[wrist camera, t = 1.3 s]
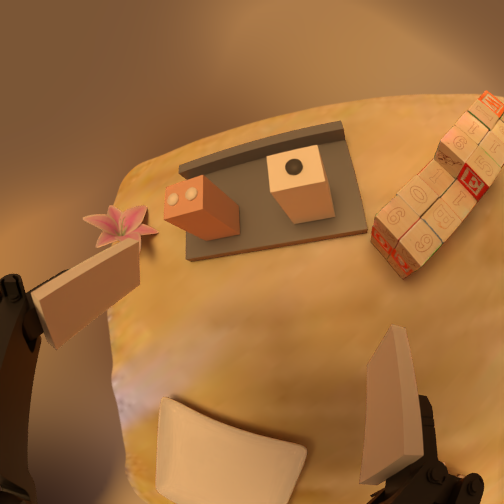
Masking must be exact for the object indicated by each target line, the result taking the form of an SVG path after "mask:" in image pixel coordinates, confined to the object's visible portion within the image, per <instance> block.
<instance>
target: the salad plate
mask: <svg viewBox="0 0 504 504" xmlns="http://www.w3.org/2000/svg"><path fill="white" fill-rule="evenodd" d="M306 456H307V449H306V447H305V446H303V445H301V444H297V443H292V442H288V441H283V440H279V439H275V438H270V437H266V436H262V435H258V434H255V433H251V432H248V431H245V430H242V429H238V428H236V427H233V426H230V425H227V424H225V423H222V422H219V421H217V420H214V419H212V418H210V417H208V416H205V415H203V414H201V413H199V412H197V411H195V410H193V409H191V408H189V407H187V406H185V405H183V404H182V403H180V402H178V401H175V400H173V399H171V398H168V397H163V398H162V399H161V403H160V411H159V422H158V439H157V463H156V490H157V491H158V493H160V494H161V495H163V496H164V497H166V498H167V499H169V500H171V501H173V502H175V503H176V504H287V503H288V501H289V499H290V496H291V494H292V492H293V489H294V487H295V485H296V482H297V480H298V478H299V475H300V473H301V470H302V468H303V466H304V463H305V460H306Z"/></svg>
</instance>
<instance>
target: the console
mask: <svg viewBox="0 0 504 504" xmlns="http://www.w3.org/2000/svg"><path fill="white" fill-rule="evenodd" d="M313 145H317V146H318V149H319V152H320V155H321V159H322V162H323V165H324V169H325V172H326V176H327V179H328V183H329V186H330V191H331V196H332V202H333V207H334V213H335V217H332V218H326V219H321V220H315V221H309V222H304V223H298V224H293V222H292V221H291V219H290V218H289V217H288V215H287V214H286V213H285V211H284V210H283V209H282V207H281V206H280V205H279V203H278V202H277V201H276V199H275V198H274V197H273V195H272V194H271V193H270V185H269V175H268V166H267V157H266V156H270V155H274V154H278V153H282V152H287V151H291V150H295V149H300V148H304V147H309V146H313ZM179 174H180V175H181V176H183V177H184V178H185V179H187V180H188V179H191V178H194V177H198V176H201V175H204V176H205V177H207V178H208V179H209V180H210V181H211V182H212V183H213V184H215V185H216V186H217V187H218V188H219V189H220V190H221V191H223V192H224V193H225V194H226V195H227V196H228V197H229V198H231V199H232V200H233V201H234V202H235V203H236V204H237V205H238V206H239V222H240V235H234V236H229V237H224V238H219V239H214V240H209V241H205V240H203V239H201V238H199V237H197V236H195V235H193V234H191V233H189V232H187V231H186V260H188V261H191V262H193V261H199V260H205V259H211V258H217V257H223V256H229V255H235V254H241V253H247V252H253V251H259V250H265V249H271V248H277V247H284V246H290V245H296V244H302V243H308V242H314V241H320V240H326V239H332V238H338V237H344V236H350V235H356V234H362V233H367V224H366V219H365V214H364V209H363V205H362V200H361V196H360V192H359V188H358V184H357V180H356V176H355V172H354V168H353V164H352V161H351V157H350V154H349V150H348V147H347V144H346V140H345V134H344V129H343V126H342V123H341V121H337V122H331V123H326V124H321V125H317V126H312V127H307V128H303V129H299V130H294V131H290V132H286V133H282V134H278V135H274V136H270V137H267V138H263V139H259V140H256V141H252V142H249V143H245V144H242V145H239V146H235V147H232V148H229V149H226V150H223V151H220V152H216V153H213V154H210V155H207V156H205V157H202V158H199V159H196V160H193V161H190V162H188V163H185V164H182V165H179Z"/></svg>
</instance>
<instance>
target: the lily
mask: <svg viewBox="0 0 504 504" xmlns="http://www.w3.org/2000/svg"><path fill="white" fill-rule="evenodd" d="M146 211H147V207H146V206H136V207H133V208H130V209H127V210H126V211H124V212H122V211H121V210H119V209H118V208H116V207H114V206H112V205H110V206H109V208H108V212H107V215H105V214H95V215H89V216H86V217H83V218H82V219H83V220H84V221H86V222H88V223H90V224H92V225H94V226H96V227H98V228H99V229H101V230H103V232H102V233H101V235H100V236H99V238H98V240H97V243H96V247H97V248H99V247H101V246H104V245H107V244H109V243H112V242H115V241H117V240H119V241H120V242H121V241H123V240H125V239H127V238H132V239H134V240H137V241H139V252H140V250H141V236H140V235H147V234H156V233H159V232H158V231H157V230H156V229H154V228H152V227H150V226H148V225H145V224H141V222H142V221H143V219H144V216H145V213H146Z"/></svg>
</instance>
